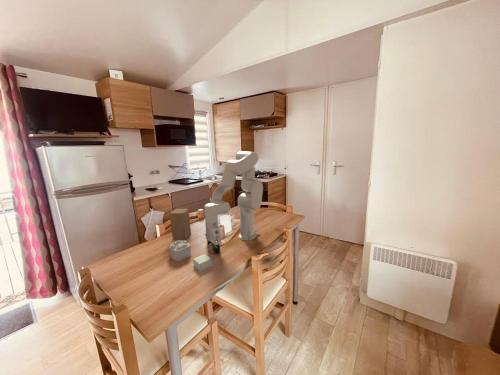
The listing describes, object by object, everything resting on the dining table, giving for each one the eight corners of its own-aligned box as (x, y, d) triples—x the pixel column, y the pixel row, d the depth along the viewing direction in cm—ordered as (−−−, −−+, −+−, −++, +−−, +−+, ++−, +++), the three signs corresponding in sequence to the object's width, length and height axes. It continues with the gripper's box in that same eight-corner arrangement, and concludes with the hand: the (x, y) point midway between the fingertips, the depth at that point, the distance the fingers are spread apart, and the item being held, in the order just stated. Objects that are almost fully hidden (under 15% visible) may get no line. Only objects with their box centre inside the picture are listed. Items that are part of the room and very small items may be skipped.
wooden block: (191, 233, 153) (188, 208, 148) (186, 240, 143) (182, 213, 139) (178, 233, 154) (175, 208, 149) (172, 239, 144) (169, 213, 140)
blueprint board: (210, 253, 123) (210, 252, 123) (224, 263, 113) (224, 262, 113) (186, 265, 113) (185, 263, 113) (198, 276, 103) (198, 275, 103)
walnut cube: (215, 248, 130) (214, 241, 129) (219, 251, 126) (219, 244, 125) (208, 251, 126) (207, 244, 125) (212, 254, 123) (212, 247, 122)
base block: (205, 260, 116) (204, 253, 115) (211, 265, 111) (211, 258, 110) (193, 265, 111) (193, 258, 110) (200, 270, 106) (199, 264, 105)
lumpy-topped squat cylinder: (177, 263, 115) (175, 249, 113) (167, 255, 124) (165, 242, 122) (193, 256, 122) (192, 242, 120) (183, 248, 131) (181, 236, 129)
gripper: (225, 225, 118) (227, 253, 122) (209, 218, 131) (211, 243, 135) (214, 229, 113) (216, 258, 117) (199, 221, 126) (201, 247, 130)
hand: (213, 250), depth 126 cm, fingers open, 7 cm apart
